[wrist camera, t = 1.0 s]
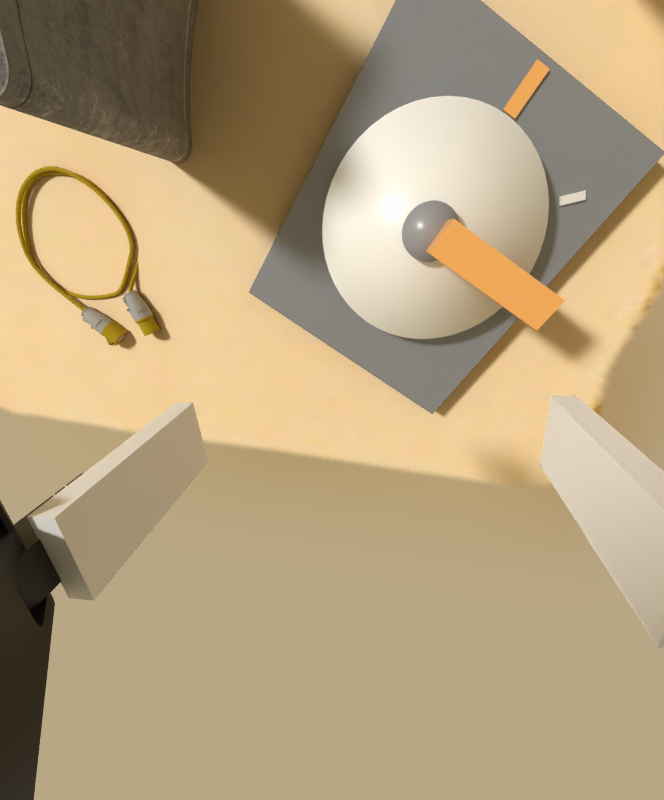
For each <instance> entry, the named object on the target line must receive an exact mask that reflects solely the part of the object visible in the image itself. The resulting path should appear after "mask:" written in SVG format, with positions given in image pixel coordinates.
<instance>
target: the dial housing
mask: <svg viewBox="0 0 664 800" xmlns="http://www.w3.org/2000/svg"><path fill="white" fill-rule="evenodd" d="M438 96H458V97H467V98H471V99H475V100H479V101H482V102H484V103H486V104H489V105H491V106H493V107H495V108H497V109H499V110H500V111H502V112H503V113H505V114H506V115H508V116H509V117H510V118H511V119H512V120H513V121H515V122H516V123H517V124H518V125H519V126H520V127H521V128H522V129H523V131H524V132H525V133H526V135H527V136H528V137H529V139H530V140H531V141H532V143H533V145H534V147H535V149H536V151H537V152H538V154H539V157H540V159H541V162H542V165H543V168H544V171H545V175H546V180H547V185H548V196H549V212H548V223H547V228H546V233H545V238H544V241H543V244H542V247H541V250H540V253H539V256H538V258H537V260H536V262H535V264H534V266H533V268H532V270H531V272H530V273H529V274H530V275H531V276H532V277H534V278H535V279H536V280H538V281H539V282H541V283H542V284H543V285H545V286H547V285H548V284H549V283H550V282H551V280H552V279H553V278H554V277H555V276H556V275H557V274H558V273H559V271H560V270H561V269H562V268H563V267H564V266H565V265H566V264H567V263H568V261H569V260H570V259H571V258H572V257H573V256H574V255H575V254H576V252H577V251H578V250H579V249H580V248H581V247H582V246H583V245H584V243H585V242H586V241H587V240H588V239H589V238H590V237H591V236H592V234H593V233H594V232H595V231H596V230H597V229H598V228H599V227H600V225H601V224H602V223H603V222H604V221H605V220H606V219H607V218H608V217H609V215H610V214H611V213H612V212H613V211H614V210H615V209H616V208H617V206H618V205H619V204H620V203H621V202H622V201H623V200H624V199H625V197H626V196H627V195H628V194H629V193H630V192H631V191H632V190H633V188H634V187H635V186H636V185H637V184H638V183H639V182H640V181H641V180H642V178H643V177H644V176H645V175H646V174H647V173H648V172H649V171H650V169H651V168H652V167H653V166H654V165H655V164H656V163H657V162H658V160H659V159H660V158H661V157H662V156H663V155H664V151H663V150H662V149H661V148H659V147H658V146H657V145H656V144H654V143H653V142H652V141H651V140H650V139H648V138H647V137H646V136H645V135H644V134H642V133H641V132H640V131H639V130H637V129H636V128H635V127H634V126H633V125H631V124H630V123H629V122H628V121H627V120H625V119H624V118H623V117H622V116H620V115H619V114H618V113H617V112H616V111H614V110H613V109H612V108H611V107H609V106H608V105H607V104H606V103H605V102H603V101H602V100H601V99H600V98H599V97H597V96H596V95H595V94H594V93H592V92H591V91H590V90H589V89H588V88H586V87H585V86H584V85H583V84H582V83H580V82H579V81H578V80H577V79H575V78H574V77H573V76H572V75H571V74H569V73H568V72H567V71H566V70H565V69H563V68H562V67H561V66H560V65H558V64H557V63H556V62H555V61H554V60H552V59H551V58H550V57H549V56H548V55H546V54H545V53H544V52H543V51H541V50H540V49H539V48H538V47H537V46H535V45H534V44H533V43H532V42H530V41H529V40H528V39H527V38H526V37H524V36H523V35H522V34H521V33H520V32H518V31H517V30H516V29H515V28H513V27H512V26H511V25H510V24H509V23H507V22H506V21H505V20H504V19H503V18H501V17H500V16H499V15H498V14H496V13H495V12H494V11H493V10H492V9H490V8H489V7H488V6H487V5H486V4H484V3H483V2H482V1H481V0H396V1H395V3H394V5H393V7H392V9H391V11H390V13H389V15H388V17H387V19H386V21H385V23H384V25H383V27H382V29H381V31H380V33H379V35H378V37H377V39H376V41H375V43H374V45H373V47H372V49H371V51H370V53H369V55H368V57H367V59H366V61H365V63H364V65H363V67H362V69H361V71H360V73H359V75H358V77H357V79H356V81H355V83H354V85H353V87H352V89H351V91H350V93H349V95H348V96H347V98H346V100H345V102H344V104H343V106H342V108H341V110H340V112H339V114H338V116H337V118H336V120H335V122H334V124H333V126H332V128H331V130H330V132H329V134H328V136H327V138H326V140H325V142H324V144H323V146H322V148H321V150H320V152H319V154H318V156H317V158H316V160H315V162H314V164H313V166H312V168H311V170H310V172H309V174H308V176H307V178H306V180H305V182H304V184H303V186H302V188H301V190H300V192H299V194H298V196H297V198H296V200H295V202H294V204H293V206H292V208H291V210H290V212H289V214H288V216H287V218H286V220H285V221H284V223H283V225H282V227H281V229H280V231H279V233H278V235H277V237H276V239H275V241H274V243H273V245H272V247H271V249H270V251H269V253H268V255H267V257H266V259H265V261H264V263H263V265H262V267H261V269H260V271H259V273H258V275H257V277H256V279H255V281H254V283H253V285H252V287H251V289H250V291H249V293H251V294H252V295H254V296H255V297H257V298H258V299H260V300H261V301H263V302H264V303H266V304H267V305H269V306H270V307H272V308H273V309H275V310H276V311H278V312H279V313H281V314H282V315H284V316H285V317H287V318H288V319H290V320H291V321H293V322H294V323H296V324H297V325H299V326H300V327H302V328H303V329H305V330H306V331H308V332H309V333H311V334H312V335H314V336H315V337H317V338H318V339H320V340H321V341H323V342H324V343H326V344H327V345H329V346H330V347H332V348H333V349H335V350H336V351H338V352H339V353H341V354H342V355H344V356H345V357H347V358H348V359H350V360H352V361H353V362H355V363H356V364H358V365H359V366H361V367H362V368H364V369H365V370H367V371H368V372H370V373H371V374H373V375H374V376H376V377H377V378H379V379H380V380H382V381H383V382H385V383H386V384H388V385H389V386H391V387H392V388H394V389H395V390H397V391H398V392H400V393H401V394H403V395H404V396H406V397H407V398H409V399H410V400H412V401H413V402H415V403H416V404H418V405H419V406H421V407H422V408H424V409H425V410H427V411H428V412H430V413H431V414H433V413H434V412H435V411H436V409H437V408H438V407H439V406H440V405H441V404H442V403H443V402H444V400H445V399H446V398H447V397H448V396H449V395H450V394H451V393H452V392H453V390H454V389H455V388H456V387H457V386H458V385H459V384H460V383H461V381H462V380H463V379H464V378H465V377H466V376H467V375H468V374H469V372H470V371H471V370H472V369H473V368H474V367H475V366H476V365H477V363H478V362H479V361H480V360H481V359H482V358H483V357H484V356H485V354H486V353H487V352H488V351H489V350H490V349H491V348H492V347H493V346H494V344H495V343H496V342H497V341H498V340H499V339H500V338H501V337H502V335H503V334H504V333H505V332H506V331H507V330H508V329H509V328H510V326H511V325H512V324H513V323H514V322H515V321H516V320H517V319H518V318H517V317H516V316H514V315H513V314H512V313H510V312H509V311H507V310H506V309H505V308H503V307H502V308H501V309H499V310H498V311H497V312H496V313H495V314H493V315H492V316H490V317H489V318H487V319H486V320H484V321H483V322H481V323H480V324H478V325H476V326H474V327H472V328H470V329H468V330H465V331H462V332H460V333H457V334H454V335H450V336H445V337H441V338H432V339H413V338H406V337H400V336H397V335H393V334H390V333H387V332H385V331H383V330H380V329H378V328H376V327H375V326H373V325H371V324H370V323H368V322H366V321H365V320H364V319H363V318H361V317H360V316H359V315H358V314H357V313H356V312H355V311H354V310H353V309H352V308H351V307H350V306H349V305H348V304H347V303H346V301H345V300H344V299H343V297H342V296H341V295H340V293H339V291H338V290H337V288H336V286H335V284H334V282H333V280H332V277H331V275H330V273H329V270H328V266H327V263H326V259H325V255H324V248H323V237H322V224H323V212H324V207H325V202H326V197H327V194H328V191H329V188H330V185H331V182H332V180H333V177H334V175H335V173H336V171H337V169H338V167H339V165H340V163H341V162H342V160H343V158H344V157H345V155H346V153H347V152H348V150H349V149H350V148H351V147H352V145H353V144H354V143H355V142H356V140H357V139H358V138H359V137H360V136H361V135H362V134H363V133H364V132H365V131H366V130H367V129H368V128H369V127H370V126H371V125H373V124H374V123H375V122H377V121H378V120H379V119H381V118H382V117H383V116H385V115H386V114H388V113H390V112H392V111H393V110H395V109H397V108H399V107H401V106H403V105H406V104H409V103H411V102H414V101H417V100H421V99H425V98H429V97H438Z"/></svg>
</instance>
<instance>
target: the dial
mask: <svg viewBox="0 0 664 800" xmlns="http://www.w3.org/2000/svg"><path fill="white" fill-rule="evenodd" d="M548 212H549V196H548V185H547V180H546V175H545V171H544V168H543V165H542V162H541V159H540V157H539V154H538V152H537V151H536V149H535V147H534V145H533V143H532V141H531V140H530V139H529V137H528V136H527V135H526V133H525V132H524V131H523V129H522V128H521V127H520V126H519V125H518V124H517V123H516V122H515V121H513V120H512V119H511V118H510V117H509V116H508V115H506V114H505V113H503V112H502V111H500V110H499V109H497V108H495V107H493V106H491V105H489V104H486V103H484V102H482V101H479V100H475V99H471V98H467V97H458V96H438V97H429V98H425V99H421V100H417V101H414V102H411V103H409V104H406V105H403V106H401V107H399V108H397V109H395V110H393V111H392V112H390V113H388V114H386V115H385V116H383V117H382V118H381V119H379V120H378V121H377V122H375V123H374V124H373V125H371V126H370V127H369V128H368V129H367V130H366V131H365V132H364V133H363V134H362V135H361V136H360V137H359V138H358V139H357V140H356V142H355V143H354V144H353V145H352V147H351V148H350V149H349V150H348V152H347V153H346V155H345V157H344V158H343V160H342V162H341V163H340V165H339V167H338V169H337V171H336V173H335V175H334V177H333V180H332V182H331V185H330V188H329V191H328V194H327V197H326V202H325V207H324V212H323V224H322V237H323V248H324V255H325V259H326V263H327V266H328V270H329V273H330V275H331V277H332V280H333V282H334V284H335V286H336V288H337V290H338V291H339V293H340V295H341V296H342V297H343V299H344V300H345V301H346V303H347V304H348V305H349V306H350V307H351V308H352V309H353V310H354V311H355V312H356V313H357V314H358V315H359V316H360V317H361V318H363V319H364V320H365V321H366V322H368V323H370V324H371V325H373V326H375V327H376V328H378V329H380V330H383V331H385V332H387V333H390V334H393V335H397V336H400V337H406V338H413V339H432V338H441V337H445V336H450V335H454V334H457V333H460V332H462V331H465V330H468V329H470V328H472V327H474V326H476V325H478V324H480V323H481V322H483V321H484V320H486V319H487V318H489V317H490V316H492V315H493V314H495V313H496V312H497V311H498V310H499V309H501V308H502V307H503V308H505V309H506V310H507V311H509V312H510V313H512V314H513V315H514V316H516V317H517V318H519V319H520V320H522V321H523V322H525V323H526V324H527V325H529V326H530V327H532V328H533V329H535V330H536V331H537V330H538V329H539V328H540V327H541V326H542V325H543V324H544V323H545V322H546V321H547V319H548V318H549V317H550V316H551V315H552V314H553V313H554V312H555V311H556V310H557V309H558V308H559V307H560V306H561V304H562V303H563V302H564V301H565V300H564V299H562V298H561V297H560V296H558V295H557V294H555V293H554V292H553V291H551V290H550V289H549V288H547V287H546V286H545V285H543V284H542V283H541V282H539V281H538V280H536V279H535V278H534V277H532V276H531V275H530V274H529V273H530V272H531V270H532V268H533V266H534V264H535V262H536V260H537V258H538V256H539V253H540V250H541V247H542V244H543V241H544V238H545V233H546V228H547V223H548Z"/></svg>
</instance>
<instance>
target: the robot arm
mask: <svg viewBox="0 0 664 800" xmlns="http://www.w3.org/2000/svg"><path fill="white" fill-rule="evenodd" d="M207 462H208V460H207V456H206V452H205V448H204V444H203V440H202V436H201V432H200V429H199V425H198V421H197V417H196V413H195V409H194V405H193V403H175V404H174V405H172V406H171V407H170V408H168V409H167V410H166V411H164V412H163V413H162V414H161V415H159V416H158V417H157V418H155V419H154V420H153V421H151V422H150V423H149V424H147V425H146V426H145V427H144V428H142V429H141V430H140V431H138V432H137V433H136V434H135V435H133V436H132V437H131V438H129V439H128V440H127V441H125V442H124V443H123V444H121V445H120V446H119V447H117V448H116V449H115V450H113V451H112V452H111V453H110V454H108V455H107V456H106V457H104V458H103V459H102V460H100V461H99V462H98V463H97V464H95V465H94V466H93V467H91V468H90V469H89V470H87V471H86V472H84V473H82V474H80V475H79V476H78V477H76V478H75V479H74V480H72V481H71V482H70V483H68V484H67V486H66V487H63V488H62V489H60V490H59V491H58V492H57V493H55V496H51V497H50V498H49V499H47V500H46V501H45V502H43V503H42V504H41V505H39V506H38V507H37V508H35V509H34V510H33V511H31V512H30V513H29V514H28V515H26V516H25V517H24V518H23V519H21V520H20V521H18V522H17V523H16V524H14V525H13V523H12V521H11V519H10V517H9V516H8V514H7V512H6V510H5V508H4V506H3V504H2V503H1V501H0V800H34V791H35V781H36V772H37V763H38V754H39V744H40V735H41V725H42V717H43V708H44V697H45V689H46V680H47V671H48V661H49V651H50V643H51V634H52V624H53V615H54V606H55V603H54V600H53V597H52V595H51V593H50V592H51V591H52V590H53V589H54V588H55V587H56V586H57V585H58V584H59V583H60V582H61V583H62V585H63V587H64V589H65V591H66V593H67V595H68V597H69V598H74V599H85V600H95V598H96V597H97V596H98V595H99V594H100V592H101V591H102V590H103V589H104V588H105V586H106V585H107V584H108V583H109V582H110V580H111V579H112V578H113V577H114V575H115V574H116V573H117V572H118V571H119V569H120V568H121V567H122V565H124V563H125V562H126V561H127V559H128V558H129V557H130V556H131V555H132V553H133V552H134V551H135V550H136V549H137V547H138V546H139V545H140V544H141V543H142V541H143V540H144V539H145V538H146V537H147V535H148V534H149V533H150V532H151V530H152V529H153V528H154V527H155V526H156V524H157V523H158V522H159V520H160V519H161V518H162V517H163V516H164V515H165V513H166V512H167V511H168V510H169V508H170V507H171V506H172V505H173V504H174V502H175V501H176V500H177V499H178V498H179V496H180V495H181V494H182V493H183V491H184V490H185V489H186V488H187V487H188V485H189V484H190V483H191V482H192V481H193V479H194V478H195V477H196V476H197V474H198V473H199V472H200V471H201V470H202V468H203V467H204V466H205V464H206V463H207ZM540 466H541V468H542V469H543V471H544V472H545V474H546V476H547V477H548V479H549V480H550V482H551V483H552V485H553V486H554V488H555V489H556V491H557V493H558V494H559V496H560V497H561V499H562V500H563V502H564V503H565V505H566V506H567V508H568V510H569V511H570V513H571V514H572V516H573V517H574V519H575V520H576V522H577V523H578V525H579V527H580V528H581V530H582V531H583V533H584V534H585V536H586V537H587V539H588V541H589V542H590V544H591V545H592V547H593V548H594V550H595V551H596V553H597V554H598V556H599V557H600V559H601V560H602V562H603V563H604V565H605V567H606V568H607V570H608V571H609V573H610V575H611V576H612V578H613V579H614V581H615V582H616V584H617V585H618V587H619V588H620V590H621V592H622V593H623V595H624V596H625V598H626V599H627V601H628V602H629V604H630V605H631V607H632V608H633V610H634V612H635V613H636V615H637V616H638V618H639V619H640V621H641V623H642V624H643V625H644V627H645V629H646V630H647V632H648V633H649V635H650V636H651V638H652V640H653V641H654V642H655V644H656V646H657V647H658V648H664V471H663V470H661V469H660V468H659V467H658V466H657V465H656V464H654V463H653V462H652V461H651V460H650V459H649V458H647V457H646V456H645V455H644V454H643V453H642V452H640V451H639V450H638V449H637V448H636V447H635V446H633V445H632V444H631V443H630V442H629V441H628V440H627V439H626V438H624V437H623V436H622V435H621V434H620V433H619V432H617V431H616V430H615V429H614V428H613V427H611V426H610V425H609V424H608V423H607V422H606V421H605V420H603V419H602V418H601V417H600V416H599V415H598V414H597V413H595V412H594V411H593V410H592V409H591V408H590V407H588V406H587V405H586V404H585V403H584V402H583V401H582V400H580V399H579V398H578V397H577V396H551V399H550V405H549V412H548V418H547V424H546V430H545V436H544V443H543V449H542V455H541V461H540Z"/></svg>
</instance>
